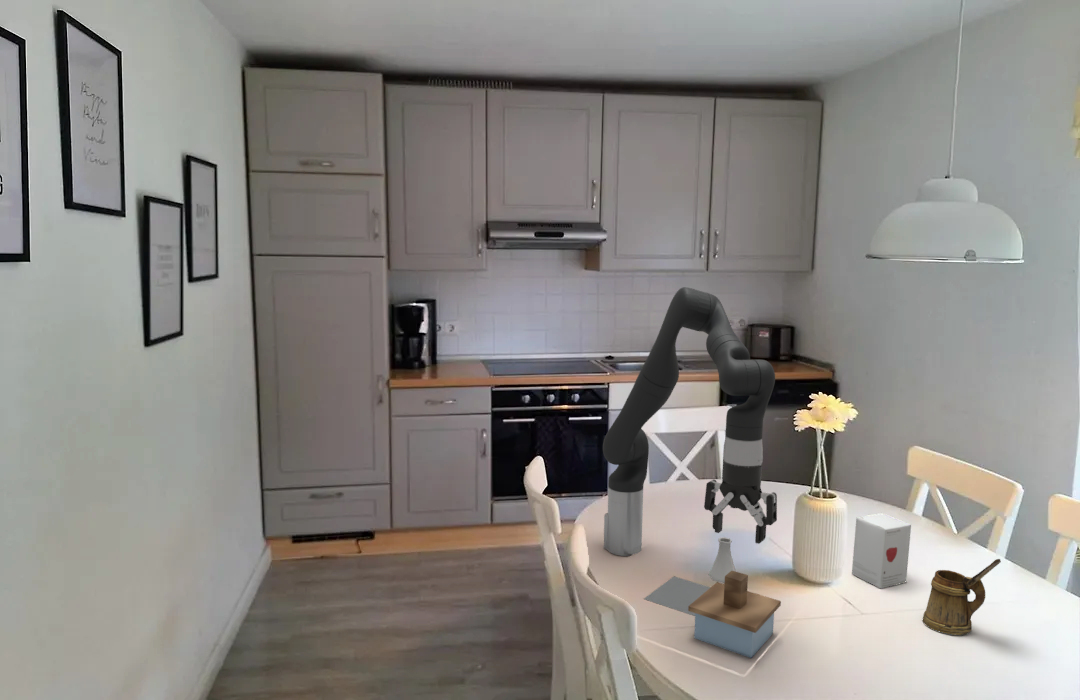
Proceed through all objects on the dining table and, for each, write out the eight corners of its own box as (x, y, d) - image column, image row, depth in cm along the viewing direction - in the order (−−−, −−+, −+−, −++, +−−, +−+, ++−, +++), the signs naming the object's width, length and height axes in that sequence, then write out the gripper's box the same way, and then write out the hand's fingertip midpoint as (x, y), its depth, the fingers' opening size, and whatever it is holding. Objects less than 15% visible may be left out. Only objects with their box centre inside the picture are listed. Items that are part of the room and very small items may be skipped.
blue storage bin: (694, 640, 148) (695, 610, 147) (718, 617, 157) (719, 589, 156) (751, 661, 141) (752, 629, 140) (772, 635, 150) (774, 606, 149)
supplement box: (880, 589, 171) (885, 529, 170) (850, 574, 180) (854, 516, 178) (907, 583, 175) (912, 523, 173) (877, 568, 183) (881, 511, 181)
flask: (739, 587, 172) (741, 546, 171) (708, 583, 174) (710, 544, 172) (737, 574, 179) (739, 535, 178) (707, 571, 181) (709, 532, 179)
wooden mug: (984, 650, 145) (992, 565, 143) (915, 623, 156) (921, 543, 153) (1001, 636, 151) (1009, 554, 148) (933, 611, 161) (940, 533, 159)
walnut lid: (688, 610, 147) (689, 578, 146) (716, 586, 158) (718, 555, 157) (755, 633, 138) (757, 598, 137) (780, 605, 149) (782, 573, 149)
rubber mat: (643, 601, 164) (643, 598, 164) (673, 578, 176) (673, 576, 176) (705, 622, 155) (705, 619, 155) (732, 596, 167) (732, 594, 167)
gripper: (701, 456, 145) (697, 533, 147) (771, 470, 137) (766, 552, 139) (716, 448, 151) (713, 523, 153) (784, 461, 143) (779, 540, 145)
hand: (738, 536), depth 146 cm, fingers open, 8 cm apart
